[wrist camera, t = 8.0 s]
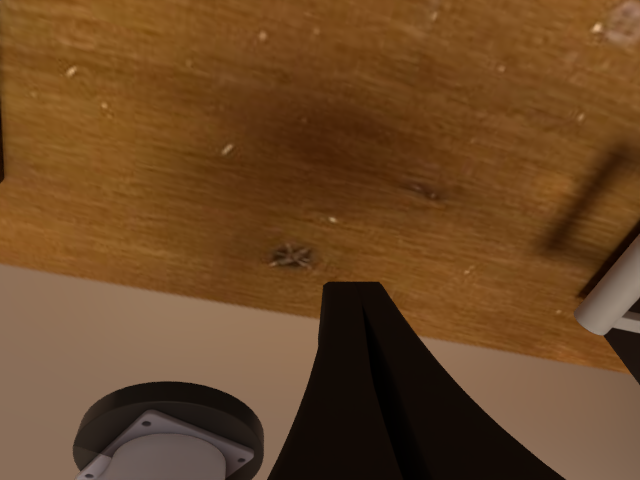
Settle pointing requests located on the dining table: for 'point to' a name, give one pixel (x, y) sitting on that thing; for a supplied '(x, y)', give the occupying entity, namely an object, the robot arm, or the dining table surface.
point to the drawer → (617, 308)
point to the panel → (0, 162)
